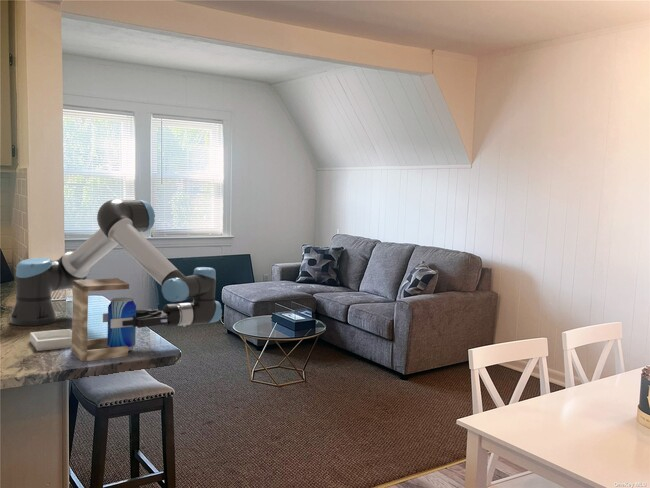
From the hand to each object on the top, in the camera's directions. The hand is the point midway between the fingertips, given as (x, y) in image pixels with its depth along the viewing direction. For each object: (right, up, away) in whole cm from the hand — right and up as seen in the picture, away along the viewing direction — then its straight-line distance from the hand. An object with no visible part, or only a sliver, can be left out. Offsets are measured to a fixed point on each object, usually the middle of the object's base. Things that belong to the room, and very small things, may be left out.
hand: (106, 320), depth 174 cm
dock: (-2, -10, 0) cm, 10 cm away
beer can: (+3, -10, +4) cm, 11 cm away
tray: (-20, -9, +7) cm, 23 cm away
